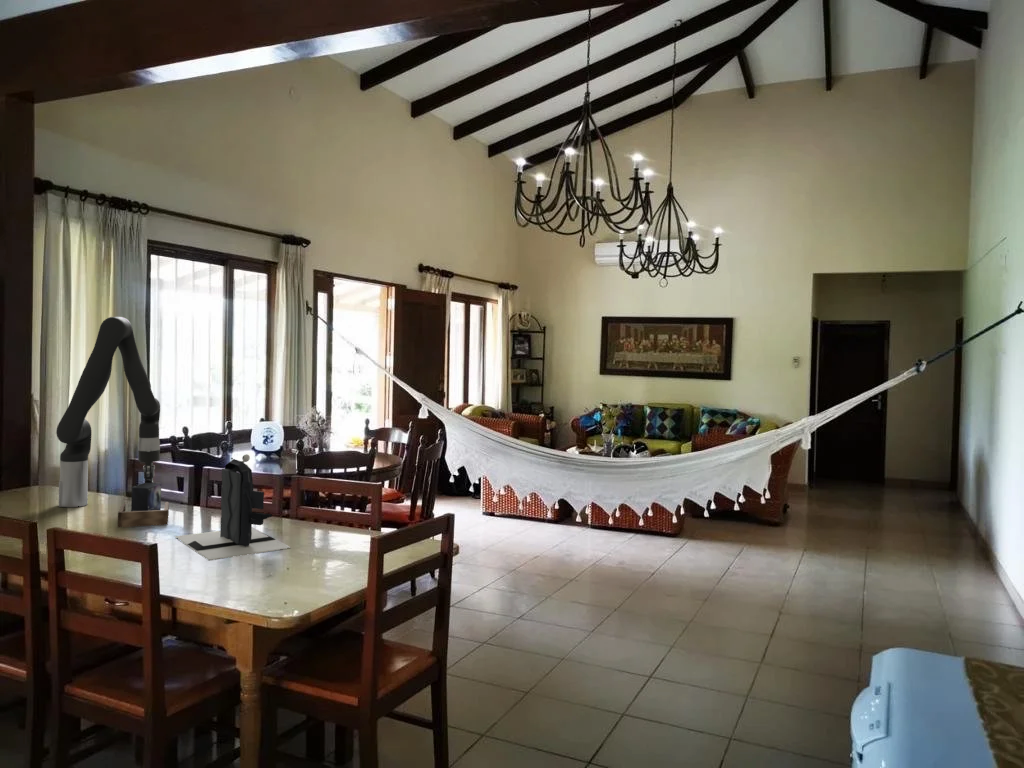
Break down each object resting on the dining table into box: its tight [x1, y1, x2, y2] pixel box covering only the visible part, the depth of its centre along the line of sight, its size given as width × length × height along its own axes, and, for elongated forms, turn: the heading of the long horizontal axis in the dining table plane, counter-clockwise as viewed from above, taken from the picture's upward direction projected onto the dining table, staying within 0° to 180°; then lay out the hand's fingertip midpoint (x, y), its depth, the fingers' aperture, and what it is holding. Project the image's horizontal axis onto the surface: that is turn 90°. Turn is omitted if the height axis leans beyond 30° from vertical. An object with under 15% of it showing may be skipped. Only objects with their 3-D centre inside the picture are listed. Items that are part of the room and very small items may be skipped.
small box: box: [130, 482, 162, 511], centre depth 281 cm, size 11×6×10 cm, turn 179°
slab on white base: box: [174, 453, 292, 561], centre depth 243 cm, size 32×25×28 cm
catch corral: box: [117, 501, 170, 528], centre depth 268 cm, size 15×15×5 cm
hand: (149, 493), depth 293 cm, fingers closed
